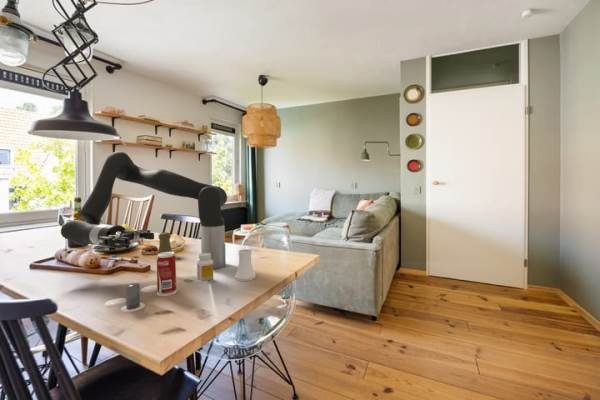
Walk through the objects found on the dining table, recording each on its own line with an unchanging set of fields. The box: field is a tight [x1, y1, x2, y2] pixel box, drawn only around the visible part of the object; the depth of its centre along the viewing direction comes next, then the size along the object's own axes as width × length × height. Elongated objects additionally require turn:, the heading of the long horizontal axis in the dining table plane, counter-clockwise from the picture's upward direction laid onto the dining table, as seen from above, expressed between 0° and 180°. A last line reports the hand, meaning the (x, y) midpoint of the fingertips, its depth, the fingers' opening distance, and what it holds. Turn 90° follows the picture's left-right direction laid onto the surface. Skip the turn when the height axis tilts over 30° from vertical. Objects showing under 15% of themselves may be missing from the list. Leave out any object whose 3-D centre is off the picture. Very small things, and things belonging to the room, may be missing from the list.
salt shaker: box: [234, 248, 257, 282], centre depth 103 cm, size 8×8×10 cm
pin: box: [125, 282, 141, 310], centre depth 75 cm, size 3×3×6 cm
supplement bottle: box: [196, 252, 214, 284], centre depth 98 cm, size 5×5×10 cm
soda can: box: [155, 251, 177, 296], centre depth 85 cm, size 5×5×12 cm
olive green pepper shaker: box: [157, 232, 173, 255], centre depth 131 cm, size 6×6×11 cm
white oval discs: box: [103, 284, 178, 313], centre depth 82 cm, size 22×13×1 cm, turn 157°
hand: (141, 238), depth 89 cm, fingers open, 8 cm apart
